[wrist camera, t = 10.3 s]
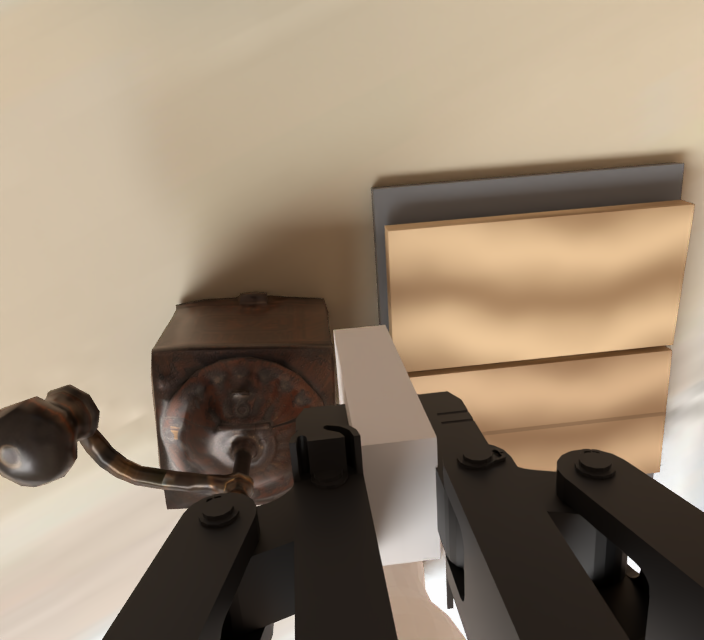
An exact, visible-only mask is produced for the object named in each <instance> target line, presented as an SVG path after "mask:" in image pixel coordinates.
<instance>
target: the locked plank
mask: <svg viewBox="0 0 704 640" xmlns="http://www.w3.org/2000/svg"><path fill="white" fill-rule="evenodd" d="M671 356H672V350H671V349H669V348H667V347H666V346H664V345H663V346H654V347H644V348H634V349H625V350H615V351H605V352H596V353H586V354H576V355H567V356H557V357H547V358H538V359H528V360H519V361H509V362H499V363H490V364H480V365H470V366H461V367H451V368H441V369H432V370H422V371H412V372H407V373H408V376H409V378H410V380H411V382H412V384H413V387H414V389H415V391H416V393H417V394H426V393H435V392H445V391H448V392H450V393H451V394H453V395H455V396H456V397H458V398H460V399H461V400H462V401H463V403H464V404H465V406H466V408H467V409H468V412H469V413H470V414H471V416H472V418H473V421H475V423H476V424H477V426H478V427H479V429H480V431H481V432H482V434H483V436H484V437H485V439H486V441H487V442H488V444H490V445H494V446H496V447H499V448H501V449H503V450H505V451H506V452H507V453H508V454H509V455H510V456H511V457H512V459H513V460H514V462H515V463H516V465H517V466H518V467H521V468H525V469H532V470H543V471H556V469H557V461H558V459H559V458H560V457H561V455H563V454H565V453H567V452H570V451H573V450H581V449H591V450H592V449H597V450H601V451H604V452H608V453H612V454H614V455H616V456H618V457H620V458H622V459H624V460H626V461H627V462H629V463H630V464H632V465H633V466H635V467H636V468H638V469H639V470H641V471H642V472H644V473H645V474H648V473H657V472H660V463H661V453H662V443H663V433H664V424H665V415H666V404H667V395H668V385H669V375H670V366H671Z"/></svg>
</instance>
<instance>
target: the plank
mask: <svg viewBox="0 0 704 640" xmlns="http://www.w3.org/2000/svg"><path fill="white" fill-rule="evenodd" d="M694 206H695V204H692V203H689V202H686V201H683V200H673V201H661V202H650V203H638V204H627V205H615V206H604V207H592V208H581V209H569V210H558V211H546V212H535V213H524V214H512V215H501V216H489V217H478V218H466V219H455V220H443V221H432V222H420V223H409V224H397V225H386V226H385V248H386V271H387V294H388V317H389V334H390V336H391V339H392V341H393V343H394V345H395V347H396V349H397V352H398V354H399V356H400V358H401V360H402V363H403V365H404V367H405V369H406V371H407V372H412V371H422V370H432V369H441V368H451V367H461V366H470V365H480V364H490V363H499V362H509V361H519V360H528V359H538V358H547V357H557V356H567V355H576V354H586V353H596V352H605V351H615V350H625V349H634V348H644V347H654V346H663V345H673V340H674V334H675V327H676V321H677V314H678V308H679V302H680V295H681V289H682V283H683V276H684V270H685V264H686V257H687V251H688V244H689V238H690V232H691V225H692V219H693V213H694Z"/></svg>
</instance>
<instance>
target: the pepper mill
mask: <svg viewBox="0 0 704 640" xmlns="http://www.w3.org/2000/svg"><path fill="white" fill-rule="evenodd" d="M151 381H152V394H153V402H154V411H155V420H156V429H157V441H158V455H159V466H160V469H158V468H152V467H145V466H141V465H139V464H137V463H135V462H132V461H130V460H128V459H126V458H125V457H124V456H123V455H121V454H120V453H119V452H117V451H116V450H115V449H114V448H113V447H112V446H111V445H110V444H109V443H108V441H107V440H106V439H105V438H104V437H103V435H102V434H101V433H100V432H99V431H98V430H97V428H98V422H99V413H100V411H99V410H98V408H97V406H96V405H95V403H94V401H93V400H92V398H91V397H90V395H89V394H87V393H85V392H83V391H81V390H79V389H78V388H76V387H74V386H72V385H67V386H63V387H60V388H57V389H54V390H51V391H49V392H48V394H47V397H46V400H43V399H41V398H39V397H37V396H36V397H33V398H30V399H28V400H25V401H22V402H19V403H16V404H13V405H10V406H7V407H4V408H2V409H0V475H1V476H3V477H5V478H7V479H9V480H11V481H13V482H15V483H17V484H19V485H21V486H29V487H37V486H41V485H45V484H48V483H50V482H52V481H55V480H57V479H59V478H62V477H64V476H65V475H66V474H67V472H68V471H69V470H70V469H71V467H72V466H73V464H74V462H75V460H76V459H77V441H80V443H81V444H82V446H83V447H84V449H85V450H86V452H87V453H88V454H89V455H90V456H91V457H92V458H93V459H94V461H95V462H96V463H97V464H98V465H99V466H100V467H102V468H103V469H105V470H106V471H108V472H109V473H111V474H112V475H113V476H115V477H117V478H119V479H122V480H124V481H127V482H129V483H132V484H134V485H139V486H145V487H151V488H157V489H163V490H164V492H165V499H166V505H167V509H183V508H189V507H190V506H191V505H193V504H194V503H196V502H198V501H199V500H201V499H203V498H205V497H208V496H212V495H214V494H219V493H230V492H232V493H238V494H244V495H246V496H247V497H249V498H251V499H253V501H254V503H255V505H264V504H267V503H269V502H271V501H274V500H276V499H278V498H280V497H281V496H283V495H285V494H286V493H287V492H288V491H289V490H290V489H291V488H292V486H293V485H294V482H293V473H292V465H291V457H290V448H289V442H290V439H291V437H292V436H293V435H294V434H295V433H296V418H297V417H298V415H299V414H300V413H301V412H302V410H303V409H304V408H311V407H320V406H330V405H336V365H335V356H334V350H333V344H332V342H331V337H330V331H329V321H328V310H327V307H326V304H325V301H324V299H321V298H298V297H280V296H267V293H258V292H253V293H242V294H240V295H239V297H236V298H224V299H207V300H200V301H194V302H189V303H184V304H179V305H176V311H175V313H174V315H173V317H172V319H171V320H170V322H169V324H168V325H167V327H166V328H165V330H164V332H163V333H162V335H161V337H160V338H159V340H158V342H157V343H156V345H155V346H154V348H153V349H152V359H151Z"/></svg>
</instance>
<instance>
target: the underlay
mask: <svg viewBox="0 0 704 640" xmlns="http://www.w3.org/2000/svg"><path fill="white" fill-rule="evenodd" d="M683 172H684V163H665V164H653V165H641V166H629V167H616V168H604V169H592V170H580V171H568V172H556V173H544V174H532V175H520V176H508V177H496V178H484V179H472V180H459V181H447V182H435V183H423V184H411V185H399V186H387V187H375V188H371V191H372V208H373V225H374V241H375V258H376V275H377V291H378V308H379V325H386V328H387V330H388V332H389V317H388V294H387V271H386V248H385V226H386V225H397V224H409V223H420V222H432V221H443V220H455V219H466V218H478V217H489V216H501V215H512V214H524V213H535V212H546V211H558V210H569V209H581V208H592V207H604V206H615V205H627V204H638V203H650V202H661V201H673V200H681V192H682V182H683ZM664 346H666V345H664ZM647 475H648V476H650V477H651V478H653V473H648V474H647Z"/></svg>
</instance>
